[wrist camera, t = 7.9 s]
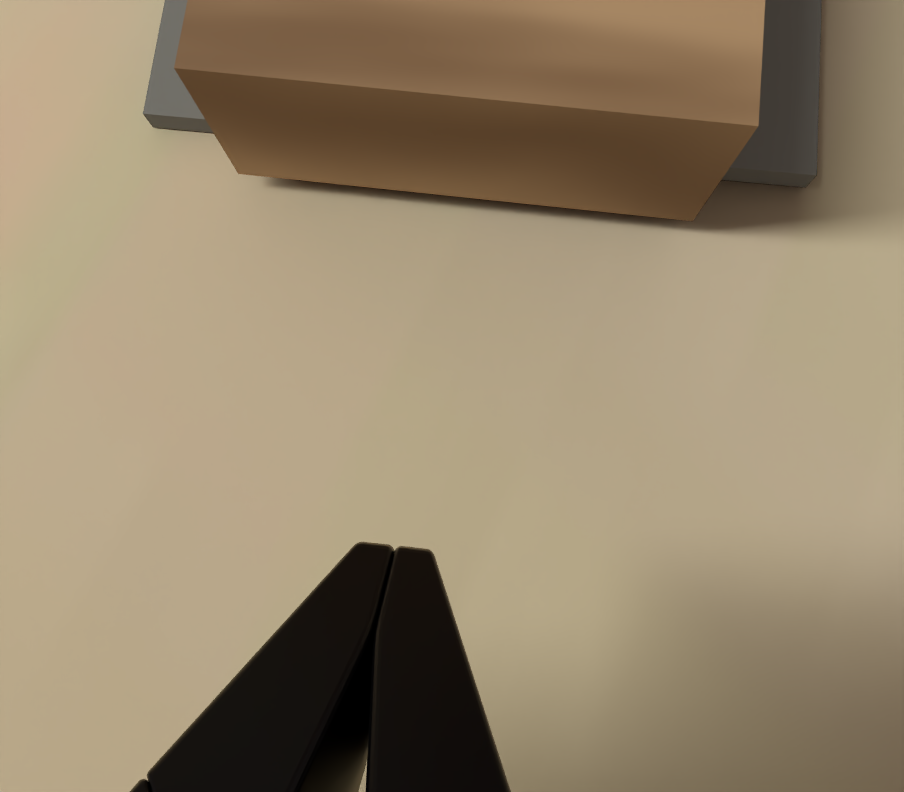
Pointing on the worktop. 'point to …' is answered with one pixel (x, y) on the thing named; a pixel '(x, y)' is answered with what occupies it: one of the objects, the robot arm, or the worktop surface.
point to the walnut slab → (484, 95)
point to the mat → (761, 161)
